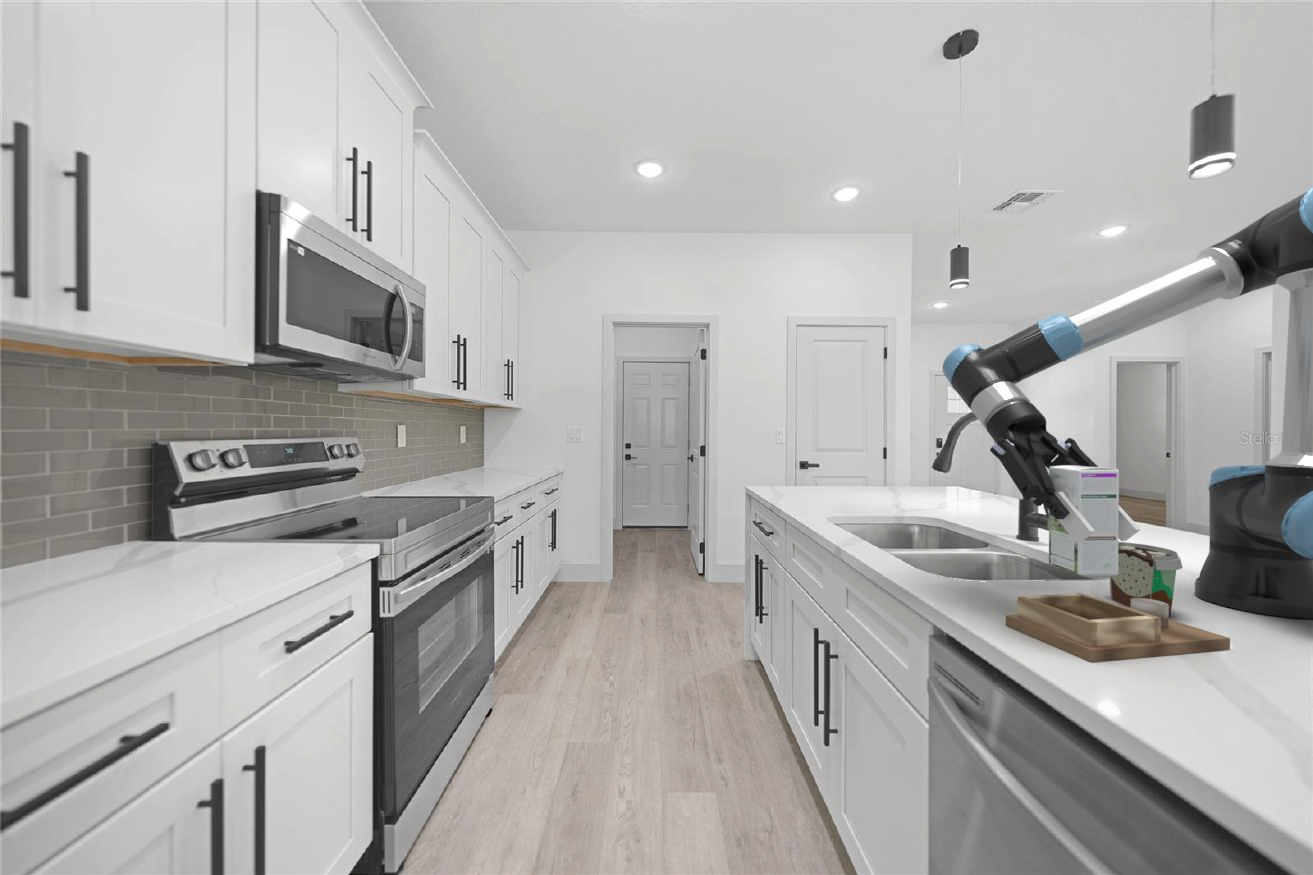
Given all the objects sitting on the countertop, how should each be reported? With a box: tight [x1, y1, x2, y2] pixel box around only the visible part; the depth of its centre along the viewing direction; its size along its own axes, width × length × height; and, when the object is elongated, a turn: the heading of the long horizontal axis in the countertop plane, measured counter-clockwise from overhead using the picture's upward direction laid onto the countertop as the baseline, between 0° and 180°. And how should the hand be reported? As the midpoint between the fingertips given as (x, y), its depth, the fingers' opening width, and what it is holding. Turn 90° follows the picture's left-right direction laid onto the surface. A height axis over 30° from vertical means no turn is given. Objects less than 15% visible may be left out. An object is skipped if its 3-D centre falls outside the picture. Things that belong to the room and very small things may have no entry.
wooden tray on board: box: [1005, 592, 1231, 663], centre depth 75 cm, size 22×13×4 cm, turn 100°
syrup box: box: [1048, 465, 1120, 576], centre depth 74 cm, size 6×6×14 cm
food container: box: [1109, 541, 1183, 619], centre depth 86 cm, size 12×6×10 cm, turn 168°
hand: (1108, 536), depth 71 cm, fingers closed on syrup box, 7 cm apart
